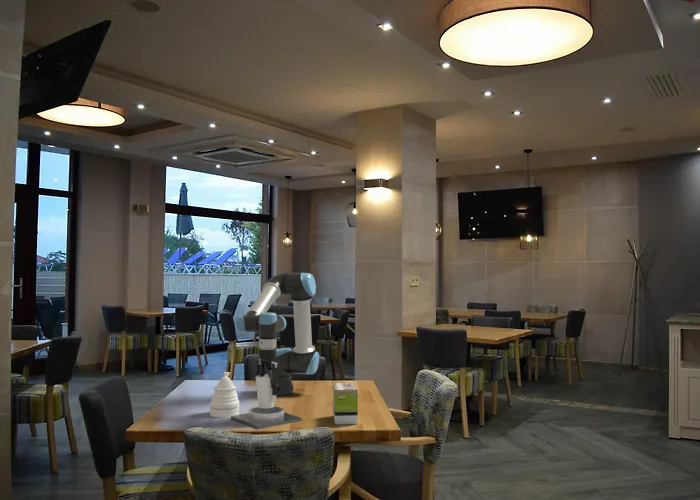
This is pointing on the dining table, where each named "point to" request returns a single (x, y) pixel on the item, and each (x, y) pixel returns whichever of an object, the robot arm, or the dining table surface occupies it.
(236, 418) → the duct flange
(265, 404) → the foam cup
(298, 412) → the dining table surface
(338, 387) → the tea box
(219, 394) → the honey pot
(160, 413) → the dining table surface
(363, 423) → the dining table surface
